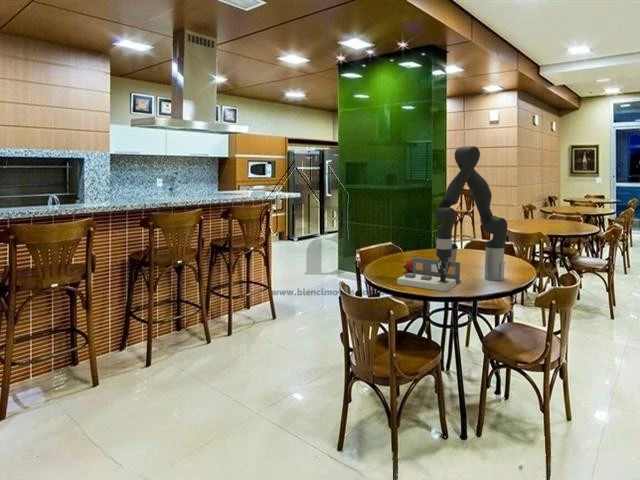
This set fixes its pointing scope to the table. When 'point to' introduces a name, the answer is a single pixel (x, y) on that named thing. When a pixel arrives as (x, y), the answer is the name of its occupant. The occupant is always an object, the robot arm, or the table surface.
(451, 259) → the coffee cup
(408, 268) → the dragon fruit
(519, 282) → the table surface
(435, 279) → the button board
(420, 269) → the pattern sign
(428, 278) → the button middle
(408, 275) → the button far
